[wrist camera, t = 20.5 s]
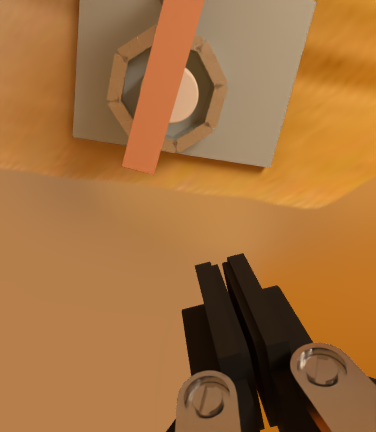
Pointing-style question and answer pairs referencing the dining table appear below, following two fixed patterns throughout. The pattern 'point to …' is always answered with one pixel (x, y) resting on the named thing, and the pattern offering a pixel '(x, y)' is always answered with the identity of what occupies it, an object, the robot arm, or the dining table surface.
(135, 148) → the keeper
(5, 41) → the dining table surface
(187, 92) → the supplement bottle
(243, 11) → the board
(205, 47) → the socket
